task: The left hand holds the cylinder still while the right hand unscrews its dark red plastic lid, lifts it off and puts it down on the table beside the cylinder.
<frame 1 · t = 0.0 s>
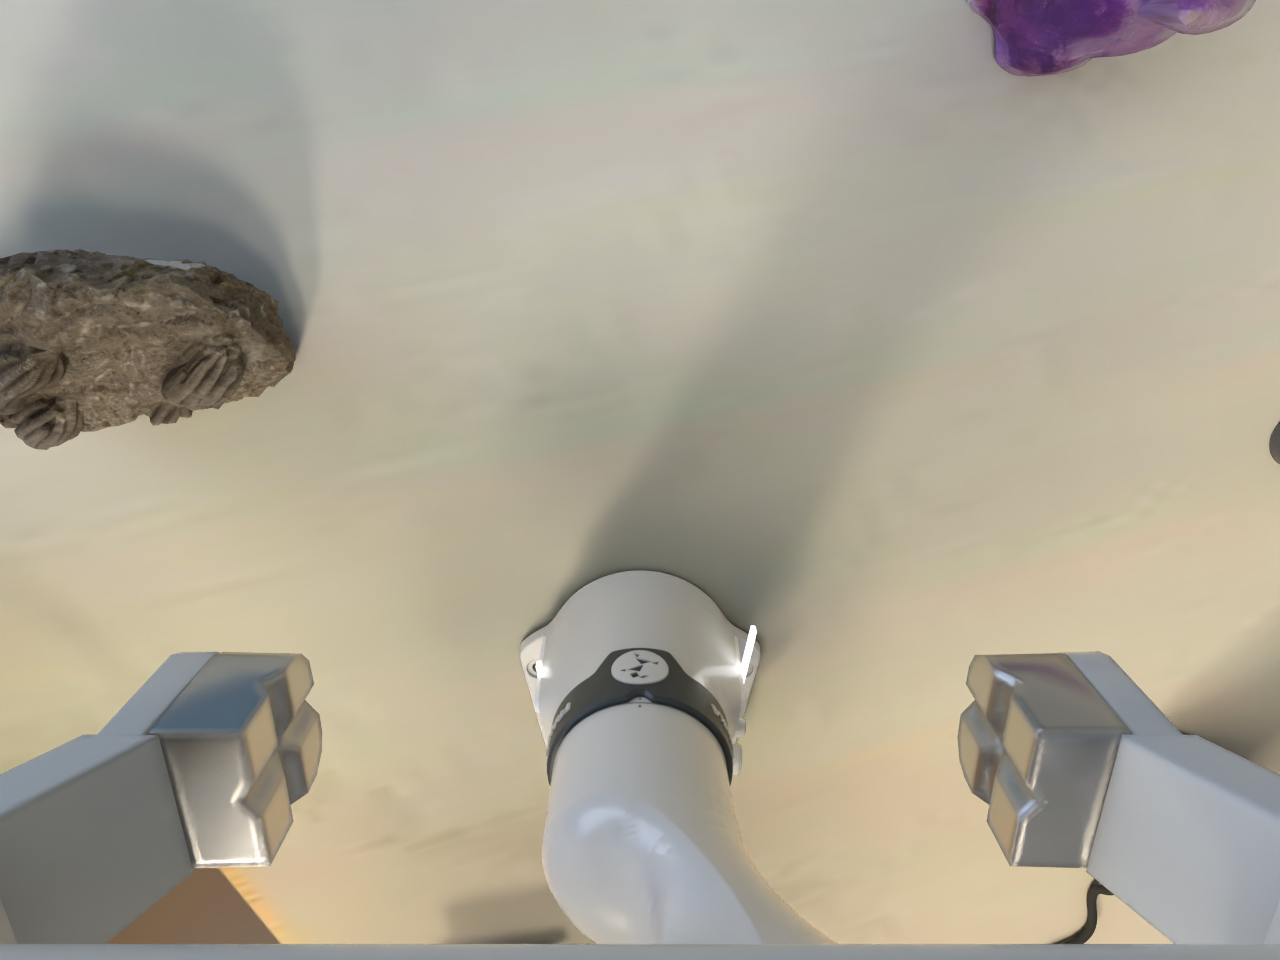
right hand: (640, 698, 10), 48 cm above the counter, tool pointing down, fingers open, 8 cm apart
fossil: (139, 334, 57), on the counter
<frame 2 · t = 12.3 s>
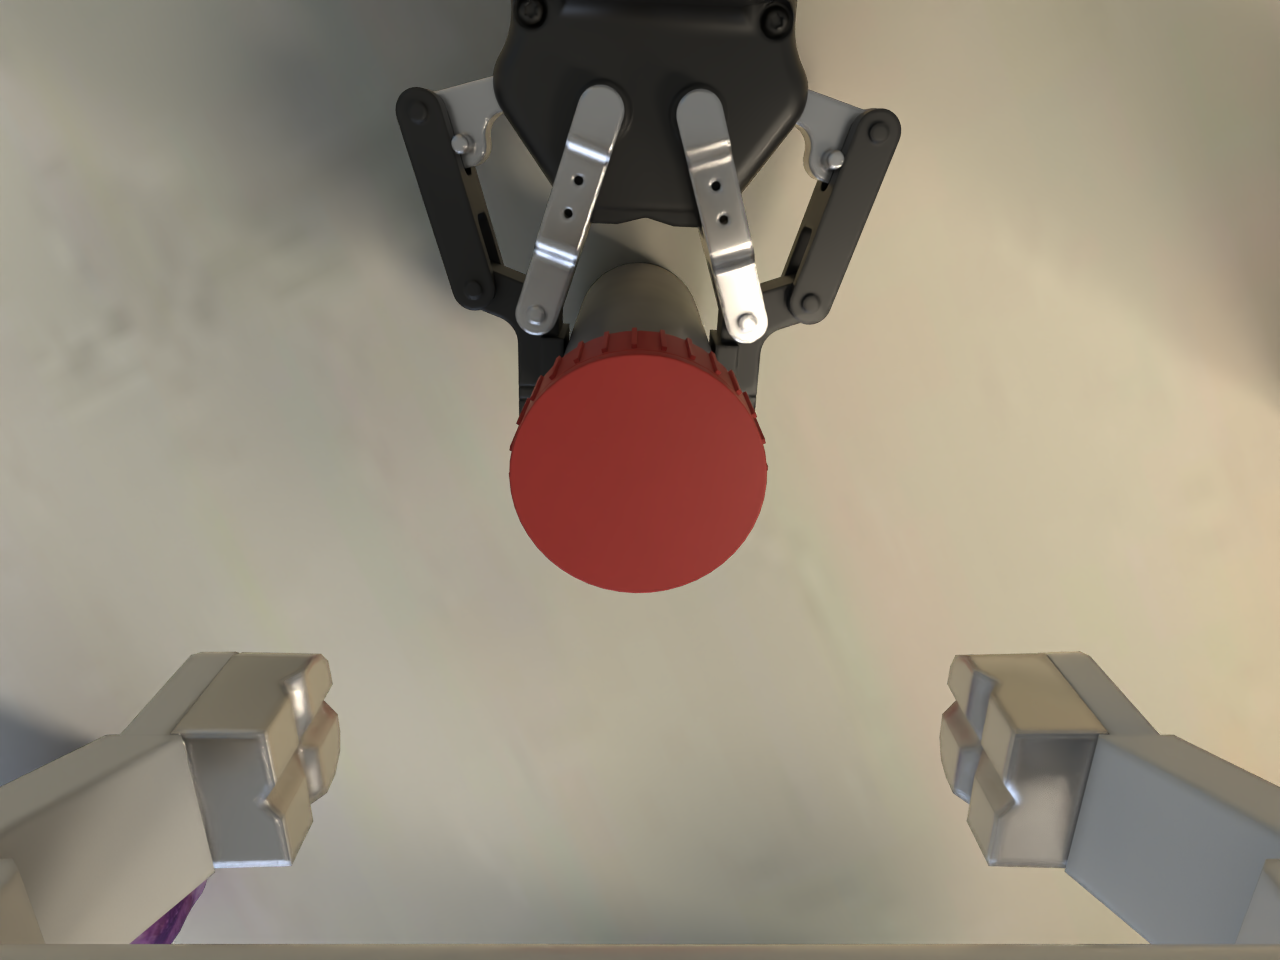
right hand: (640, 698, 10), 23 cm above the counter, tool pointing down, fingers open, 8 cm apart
cylinder: (638, 323, 32), on the counter, touching left hand
figurine: (118, 824, 41), on the counter
lid: (638, 474, 17), point 16 cm above the counter, screwed on, not yet turned
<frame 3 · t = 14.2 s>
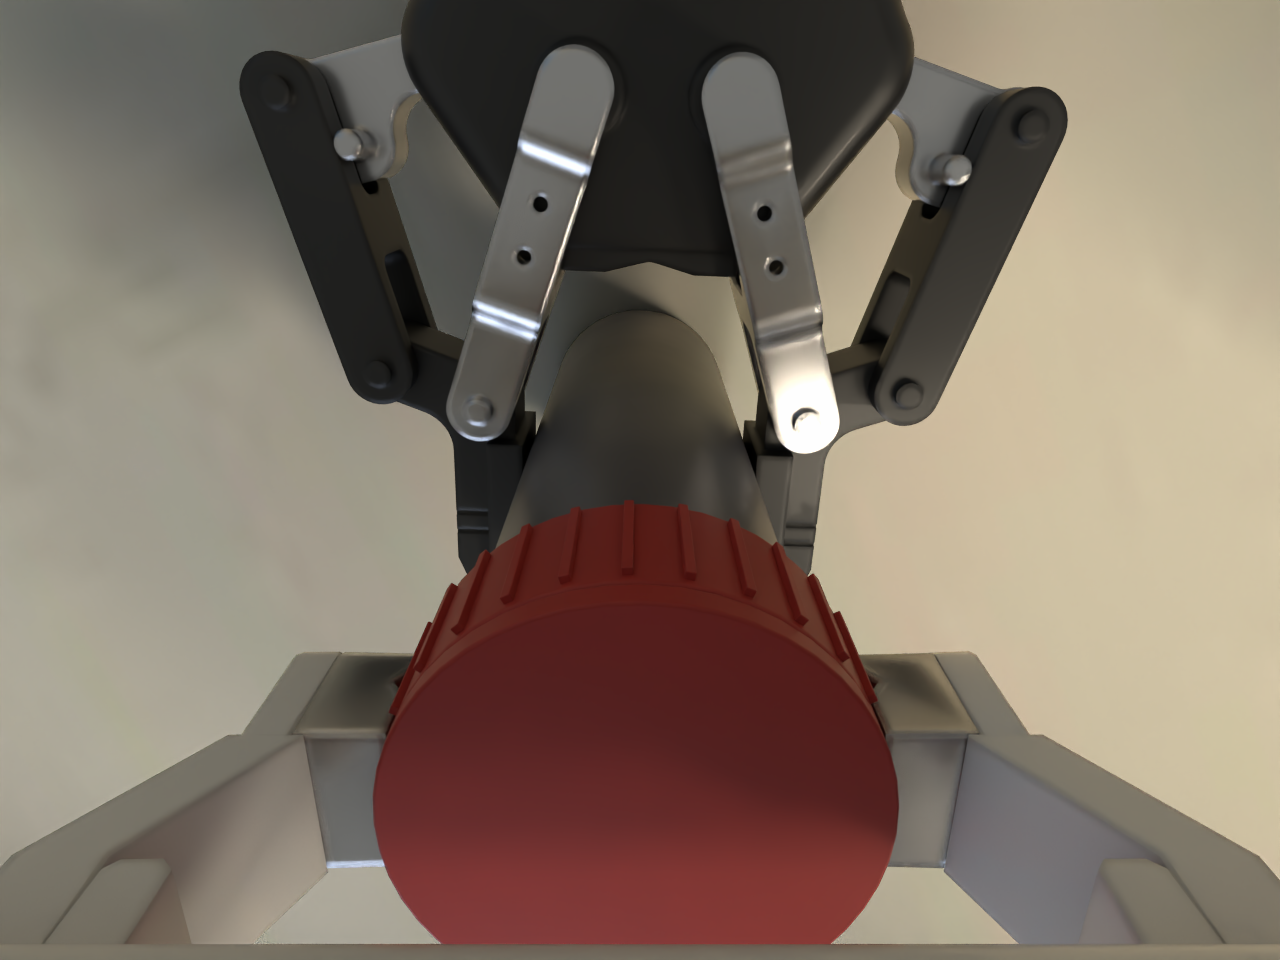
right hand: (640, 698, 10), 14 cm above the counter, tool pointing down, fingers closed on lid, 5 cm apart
cylinder: (639, 391, 23), on the counter, touching left hand
lid: (636, 805, 9), point 16 cm above the counter, screwed on, not yet turned, touching right hand
when the right hand's fingers open (2 cm above the counter, at t = 26.8 s): lid drops 2 cm, point 2 cm above the counter.
when the left hand's fingers open (6 cm above the counter, at t = 27.8 s): cylinder stays where it is, on the counter.
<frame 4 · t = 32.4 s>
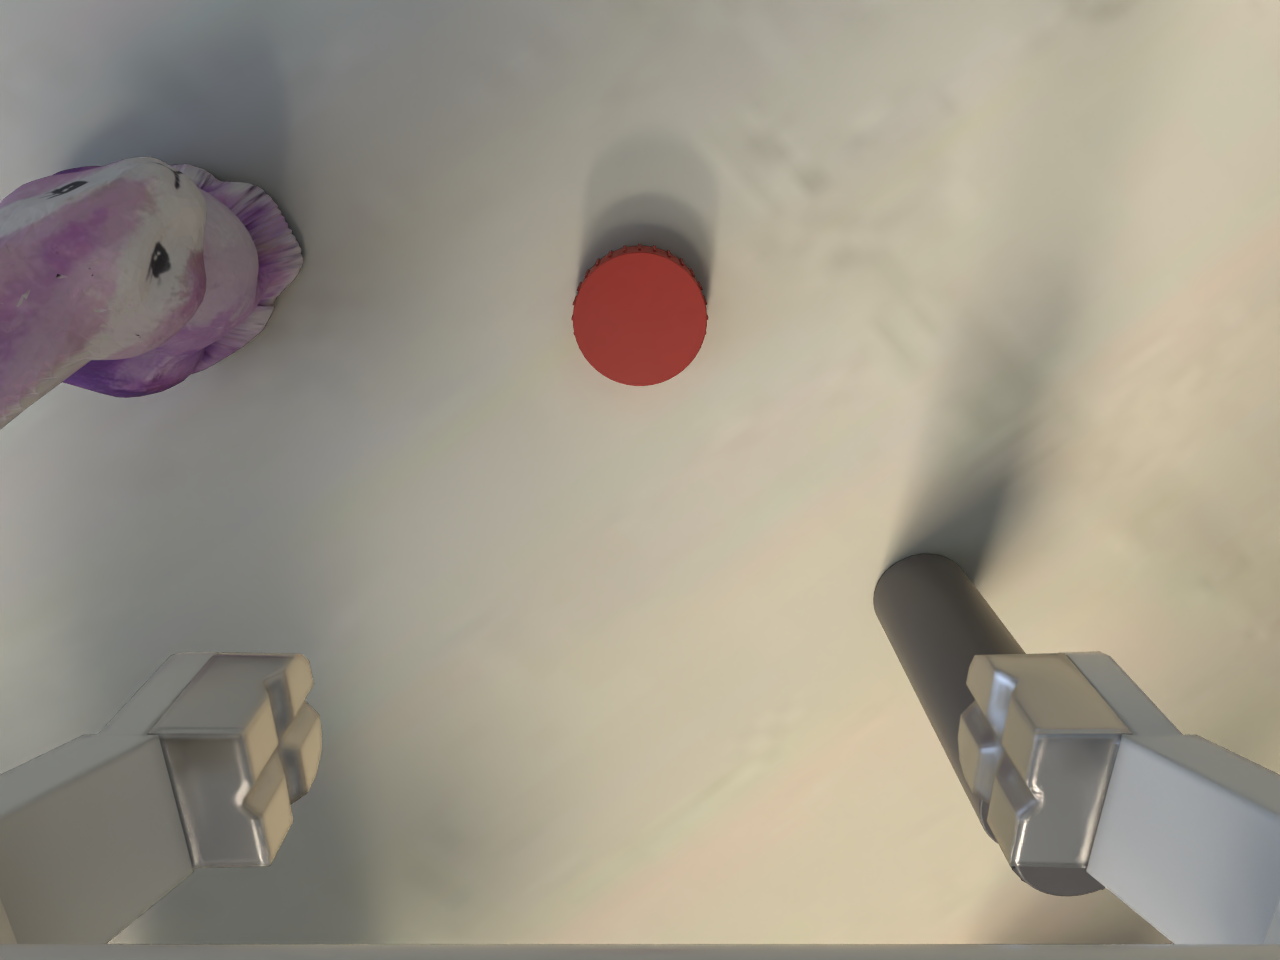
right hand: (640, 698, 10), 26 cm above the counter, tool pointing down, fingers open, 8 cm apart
cylinder: (920, 595, 40), on the counter
figurine: (191, 253, 34), on the counter
lid: (639, 319, 33), point 2 cm above the counter, off its thread
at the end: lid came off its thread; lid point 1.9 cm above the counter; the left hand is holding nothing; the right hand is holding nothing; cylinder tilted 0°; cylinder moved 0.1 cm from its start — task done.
